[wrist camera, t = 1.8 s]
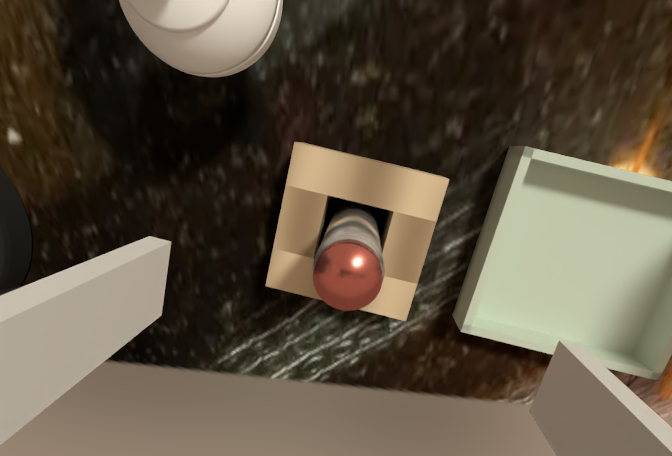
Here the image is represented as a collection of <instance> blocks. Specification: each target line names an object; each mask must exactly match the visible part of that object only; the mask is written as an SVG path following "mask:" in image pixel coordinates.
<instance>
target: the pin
mask: <svg viewBox="0 0 672 456" xmlns="http://www.w3.org/2000/svg"><path fill="white" fill-rule="evenodd" d="M384 273H385V268H384V261H383V256H382V250H381V245H380V239H379V233H378V228H377V222H376V218H375V216H374V214H373V213H372V211H371V210H370V209H369V208H367V207H366V206H364V205H362V204H358V203H349V204H346V205H343V206H341V207H340V208H339V209H338V210H337V211H336V212H335V213H334V215H333V217H332V219H331V222H330V224H329V226H328V228H327V231H326V233H325V235H324V238H323V240H322V242H321V245H320V247H319V249H318V252H317V254H316V256H315V259H314V262H313V283H314V287H315V290H316V292H317V293H318V295H319V296H320V298H321V299H322V300H323V301H324V302H325V303H327V304H328V305H330V306H331V307H334V308H336V309H339V310H345V311H352V310H358V309H361V308H363V307H365V306H367V305H369V304H370V303H371V302H372V301H373V300H374V299H375V298H376V297H377V295H378V294H379V292H380V289H381V286H382V282H383V279H384Z"/></svg>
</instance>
